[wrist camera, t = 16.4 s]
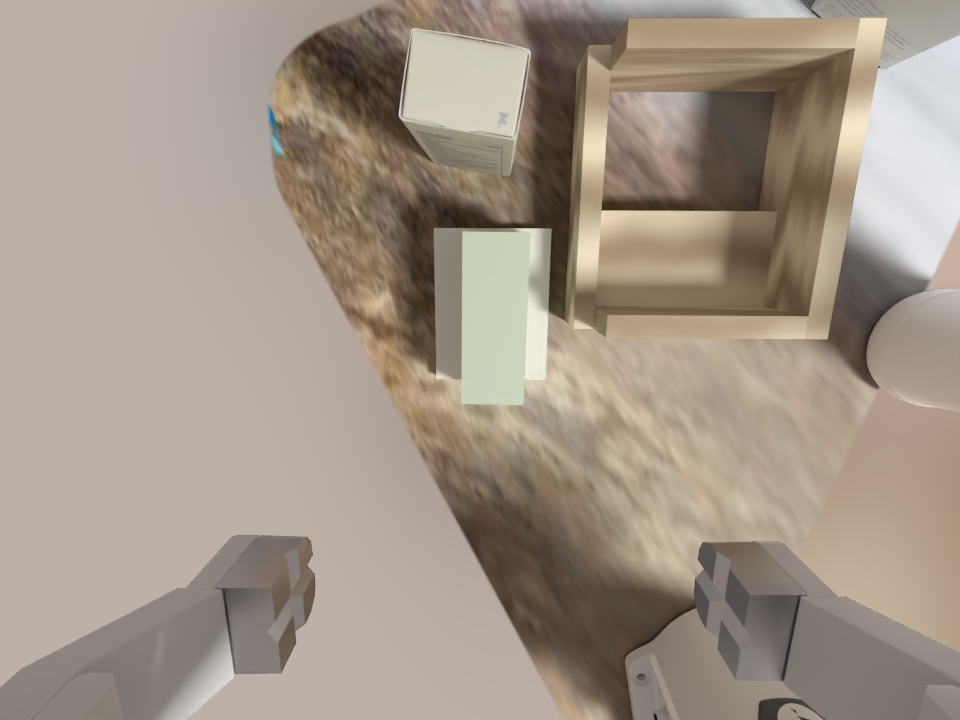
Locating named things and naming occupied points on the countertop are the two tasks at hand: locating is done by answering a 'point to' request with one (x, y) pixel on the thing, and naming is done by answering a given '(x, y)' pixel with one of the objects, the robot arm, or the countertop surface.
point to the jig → (725, 234)
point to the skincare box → (464, 99)
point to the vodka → (919, 350)
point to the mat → (451, 300)
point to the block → (494, 316)
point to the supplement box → (901, 23)
